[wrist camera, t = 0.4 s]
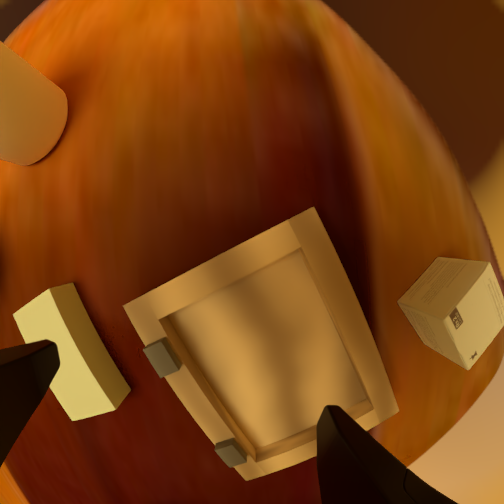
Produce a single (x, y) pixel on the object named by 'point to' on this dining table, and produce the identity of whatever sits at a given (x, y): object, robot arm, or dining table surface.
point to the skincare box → (456, 308)
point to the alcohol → (28, 110)
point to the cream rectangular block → (74, 353)
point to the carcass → (266, 346)
